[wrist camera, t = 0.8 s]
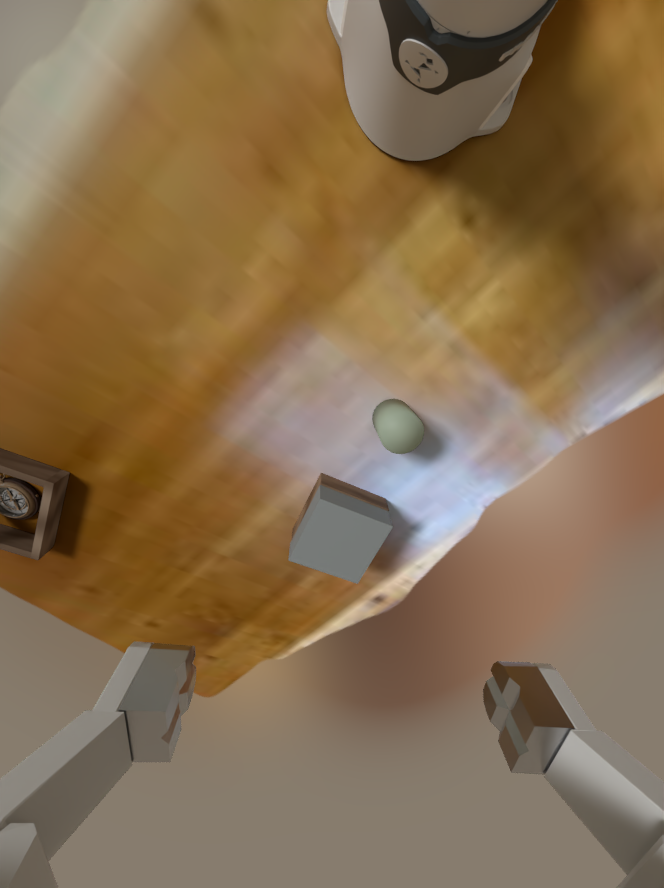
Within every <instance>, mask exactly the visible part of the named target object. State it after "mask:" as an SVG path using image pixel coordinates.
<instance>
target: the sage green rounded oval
mask: <svg viewBox="0 0 664 888" xmlns="http://www.w3.org/2000/svg"><path fill="white" fill-rule="evenodd" d="M372 420H373V425H374V427H375V429H376V431H377V433H378V436H379V438H380V440H381V442H382V444H383V446H384V447H385V448H386V449H387V450H389V451H390V452H392V453H396V454H404V453H408V452H411V451H412V450H414V449H415V448H416V447H418V445H419V444H420V443H421V441H422V439H423V436H424V427H423V424H422V422H421V420H420V419H419V418H418V417H417V416H416V415H415V414H414V412H413V411H412V410H411V409H410V408H409V407H408V406H407V405H406V404H405V403H404V402H403V401H401V400H398V399H388V400H385V401H383V402H381V403H380V404H379V405H378V406H377V407H376V409H375V410H374V413H373V418H372Z"/></svg>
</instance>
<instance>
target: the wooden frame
mask: <svg viewBox="0 0 664 888" xmlns="http://www.w3.org/2000/svg"><path fill="white" fill-rule="evenodd" d="M0 472H1V473H4V474H7V475H10V476H13V477H15V478H18V479H21V480H24V481H27V482H30V483H33V484H36V485H39V486H42V487H44V490H43V495H42V501H41V506H40V511H39V516H38V521H37V527H36V532H35V535H34V534H31V533H28V532H24V531H21V530H18V529H15V528H12V527H8V526H5V525H2V524H0V549H2V550H5V551H8V552H12V553H15V554H19V555H22V556H25V557H29V558H32V559H35V560H39V559H40V558H41V557H42V556H44V555H45V554H46V553H47V552H48V551H49V550H50V549H51V548H52V547H53V546H54V543H55V538H56V534H57V529H58V525H59V520H60V516H61V511H62V506H63V502H64V497H65V493H66V488H67V484H68V479H69V474H70V473H69V472H67V471H64V470H61V469H58V468H55V467H52V466H49V465H46V464H44V463H41V462H38V461H35V460H32V459H29V458H26V457H23V456H21V455H18V454H15V453H12V452H9V451H6V450H3V449H0Z"/></svg>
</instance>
